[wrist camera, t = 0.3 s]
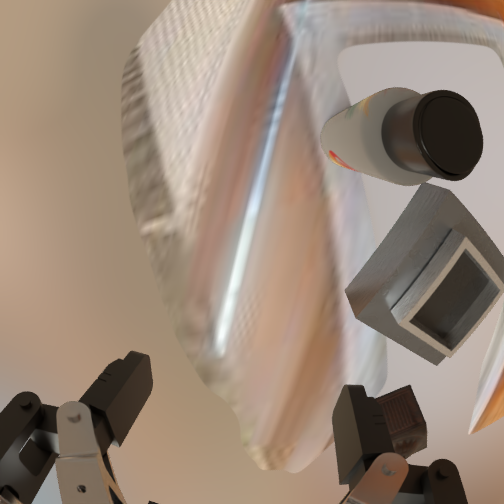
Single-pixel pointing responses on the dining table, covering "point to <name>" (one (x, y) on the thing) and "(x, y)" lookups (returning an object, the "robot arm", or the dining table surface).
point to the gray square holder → (430, 277)
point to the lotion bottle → (406, 136)
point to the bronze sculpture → (404, 421)
